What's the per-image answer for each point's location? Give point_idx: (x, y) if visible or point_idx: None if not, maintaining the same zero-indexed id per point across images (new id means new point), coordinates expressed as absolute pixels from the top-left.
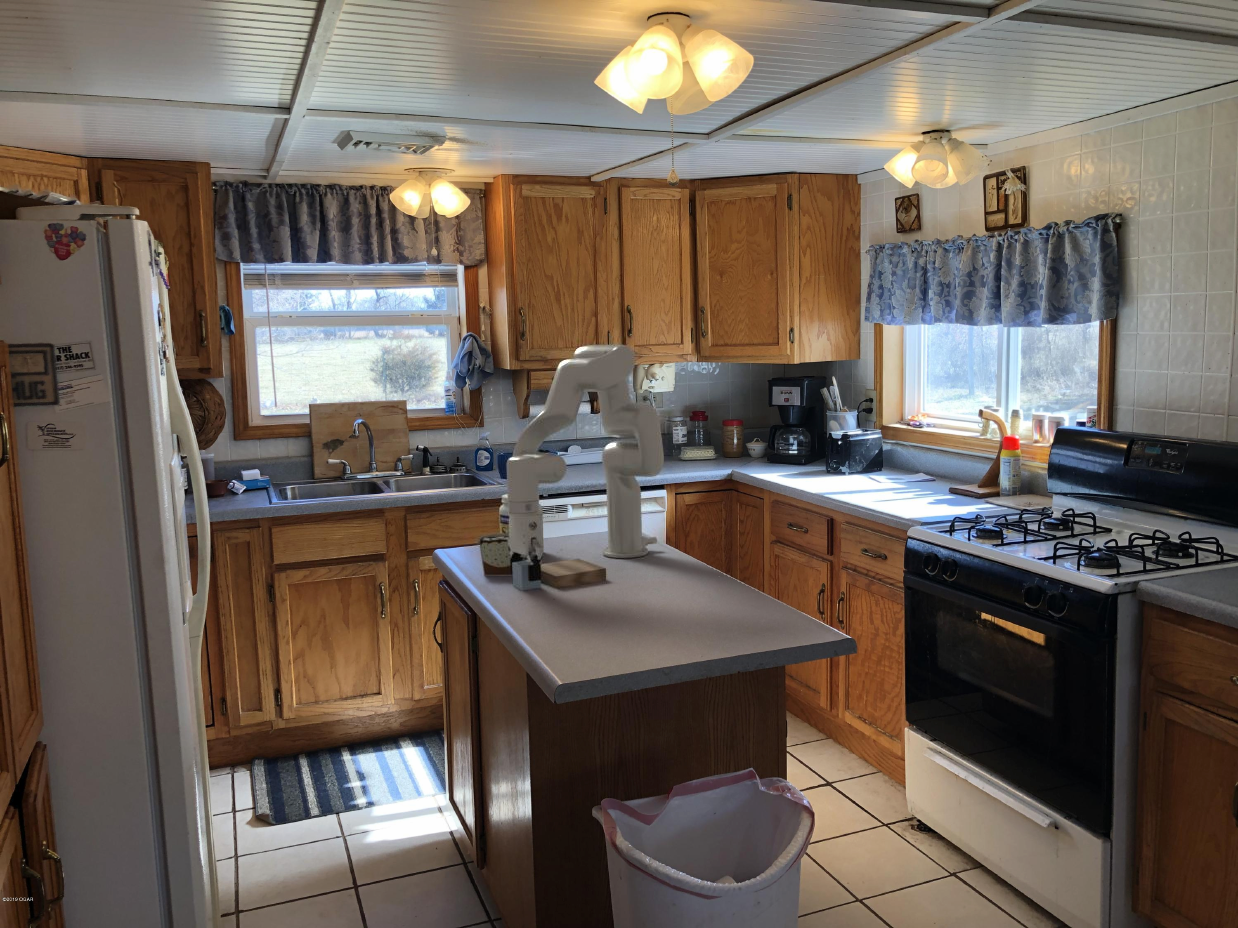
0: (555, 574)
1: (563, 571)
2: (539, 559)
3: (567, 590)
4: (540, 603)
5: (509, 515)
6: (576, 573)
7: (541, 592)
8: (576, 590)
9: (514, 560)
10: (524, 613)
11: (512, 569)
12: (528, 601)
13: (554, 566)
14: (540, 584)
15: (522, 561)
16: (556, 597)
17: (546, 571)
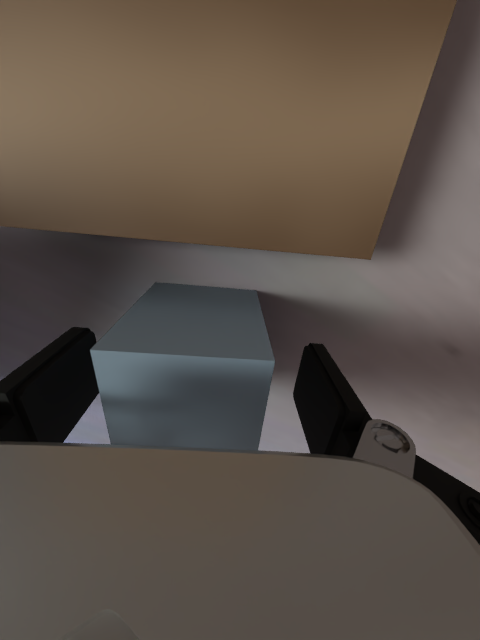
0: (327, 232)
1: (297, 106)
2: (441, 490)
3: (412, 224)
4: (442, 404)
5: None
6: (442, 37)
7: (333, 333)
8: (459, 184)
9: (51, 436)
10: (466, 469)
11: (91, 401)
12: (387, 417)
13: (46, 26)
14: (257, 296)
15: (116, 414)
16: (445, 331)
17: (198, 227)
